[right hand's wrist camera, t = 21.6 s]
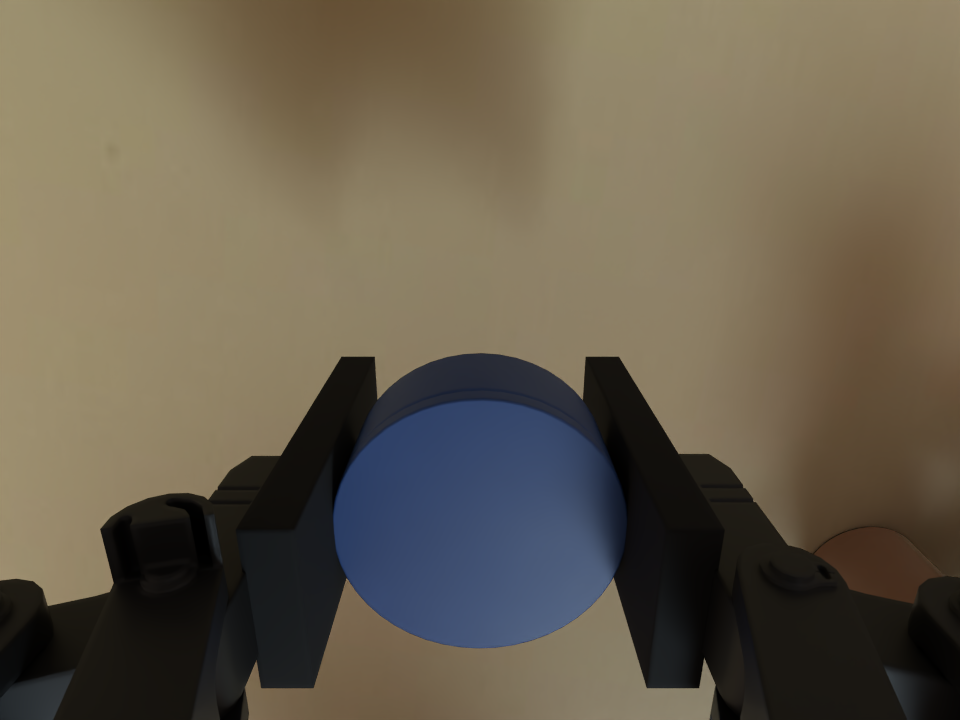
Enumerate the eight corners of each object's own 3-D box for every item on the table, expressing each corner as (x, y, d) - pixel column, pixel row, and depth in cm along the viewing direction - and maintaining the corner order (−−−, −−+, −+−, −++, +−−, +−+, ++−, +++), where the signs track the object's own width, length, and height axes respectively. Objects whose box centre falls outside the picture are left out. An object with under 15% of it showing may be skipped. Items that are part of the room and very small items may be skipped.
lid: (334, 539, 13) (307, 615, 11) (386, 321, 11) (365, 362, 9) (558, 592, 13) (572, 673, 11) (641, 389, 12) (673, 443, 10)
